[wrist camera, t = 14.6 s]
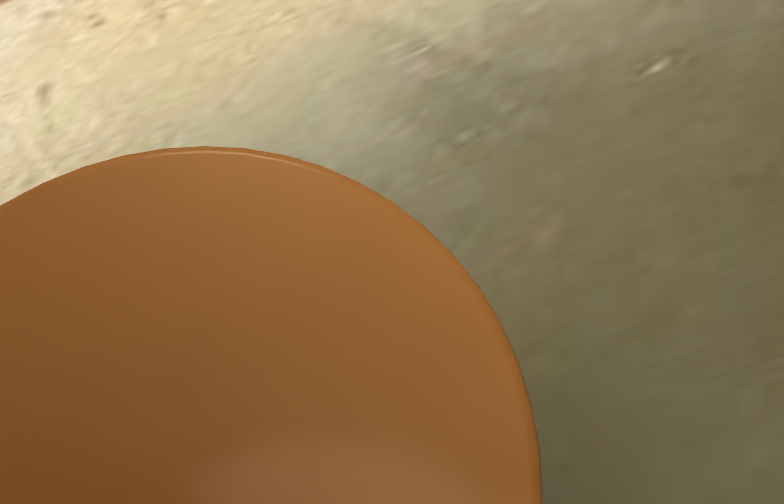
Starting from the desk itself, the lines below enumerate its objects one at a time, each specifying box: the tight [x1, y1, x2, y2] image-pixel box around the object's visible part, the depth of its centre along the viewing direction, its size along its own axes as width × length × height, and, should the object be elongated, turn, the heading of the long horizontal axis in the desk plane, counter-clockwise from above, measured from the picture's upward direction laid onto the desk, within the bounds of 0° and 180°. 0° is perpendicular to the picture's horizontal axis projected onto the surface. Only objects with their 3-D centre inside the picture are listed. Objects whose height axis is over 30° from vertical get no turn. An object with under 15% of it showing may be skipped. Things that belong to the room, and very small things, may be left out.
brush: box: [0, 146, 542, 504], centre depth 9 cm, size 5×5×15 cm
